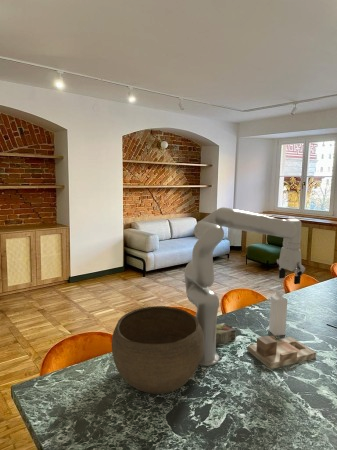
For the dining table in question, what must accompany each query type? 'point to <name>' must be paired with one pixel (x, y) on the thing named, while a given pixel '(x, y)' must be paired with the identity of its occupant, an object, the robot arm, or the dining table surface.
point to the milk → (278, 314)
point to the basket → (157, 348)
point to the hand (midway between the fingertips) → (289, 280)
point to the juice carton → (225, 333)
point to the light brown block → (266, 346)
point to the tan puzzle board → (284, 353)
